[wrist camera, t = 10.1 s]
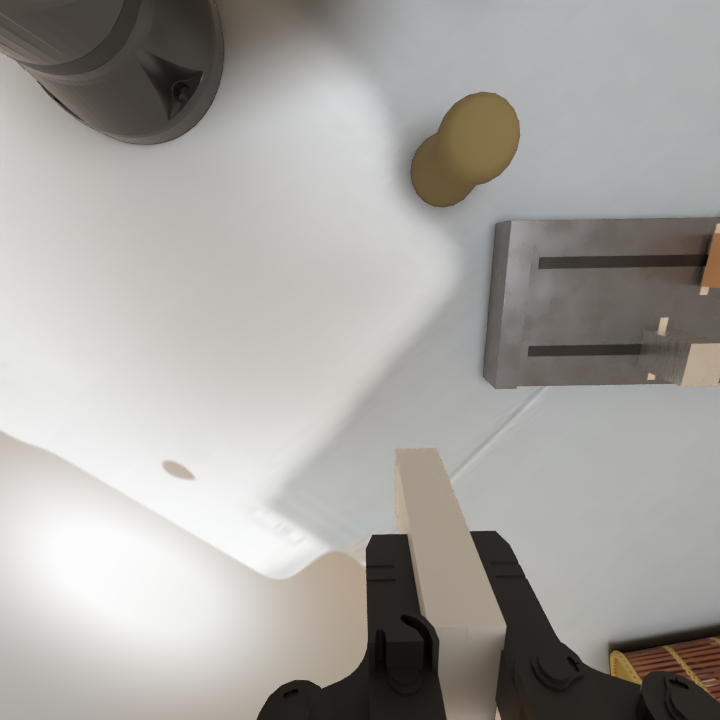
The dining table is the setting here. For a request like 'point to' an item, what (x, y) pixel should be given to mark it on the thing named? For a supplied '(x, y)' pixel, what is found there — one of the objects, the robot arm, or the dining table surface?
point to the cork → (466, 149)
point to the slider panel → (602, 303)
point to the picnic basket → (674, 663)
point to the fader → (713, 265)
